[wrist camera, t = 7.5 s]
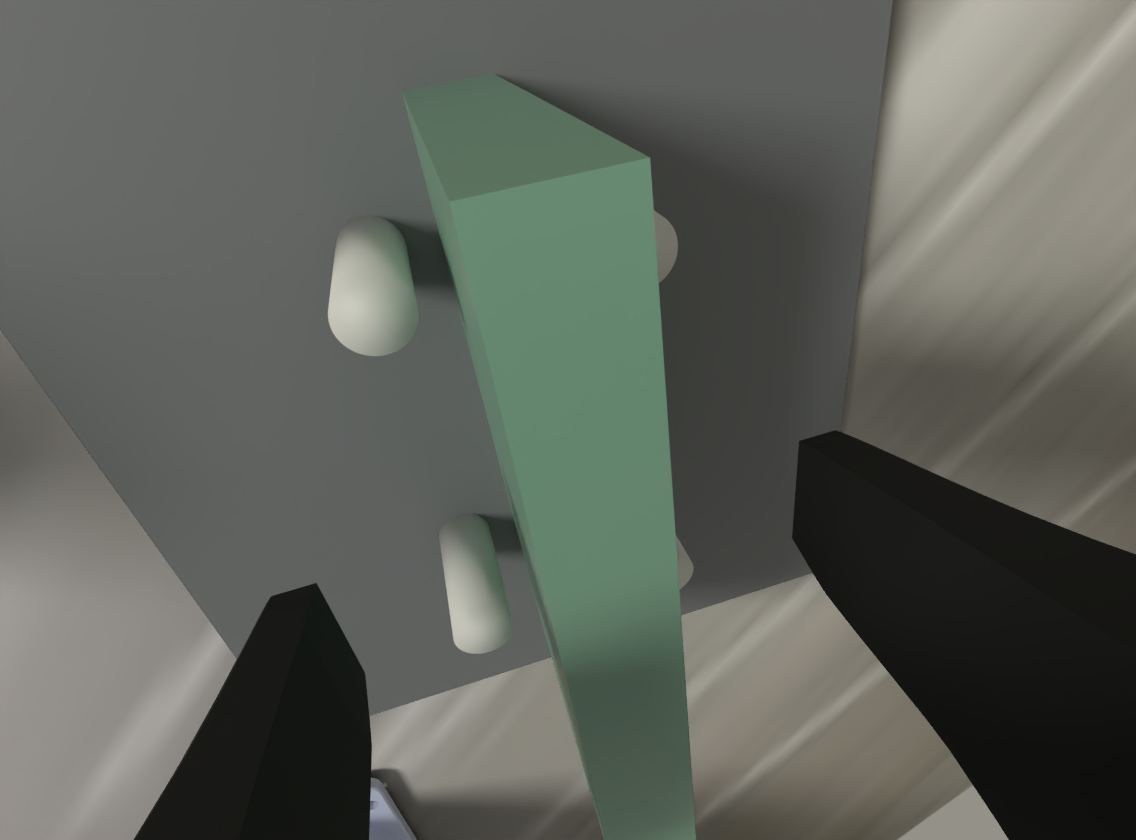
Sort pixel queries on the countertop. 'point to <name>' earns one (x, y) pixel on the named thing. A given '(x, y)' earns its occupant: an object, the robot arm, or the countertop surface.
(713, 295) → the plate
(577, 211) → the board
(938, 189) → the countertop surface
